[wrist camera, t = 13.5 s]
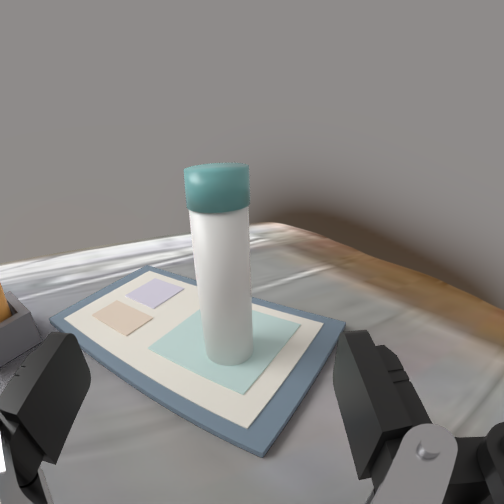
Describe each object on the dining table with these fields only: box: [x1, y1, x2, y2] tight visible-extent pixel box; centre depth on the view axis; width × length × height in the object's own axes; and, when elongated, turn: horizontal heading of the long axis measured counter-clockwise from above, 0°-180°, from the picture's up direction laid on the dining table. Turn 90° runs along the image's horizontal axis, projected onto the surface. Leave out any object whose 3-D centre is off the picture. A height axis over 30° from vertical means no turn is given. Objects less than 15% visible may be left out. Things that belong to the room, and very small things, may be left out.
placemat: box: [49, 265, 346, 458], centre depth 24 cm, size 22×13×1 cm, turn 59°
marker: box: [184, 163, 253, 366], centre depth 19 cm, size 3×3×12 cm
